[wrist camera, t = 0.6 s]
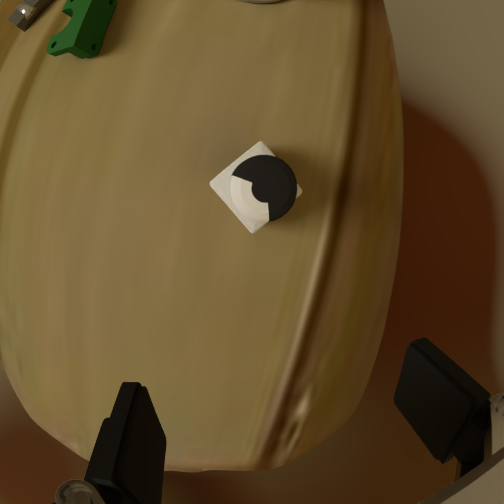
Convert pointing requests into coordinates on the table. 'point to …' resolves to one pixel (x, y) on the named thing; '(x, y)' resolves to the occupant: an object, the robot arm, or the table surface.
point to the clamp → (83, 28)
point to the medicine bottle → (257, 187)
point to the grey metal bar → (28, 12)
